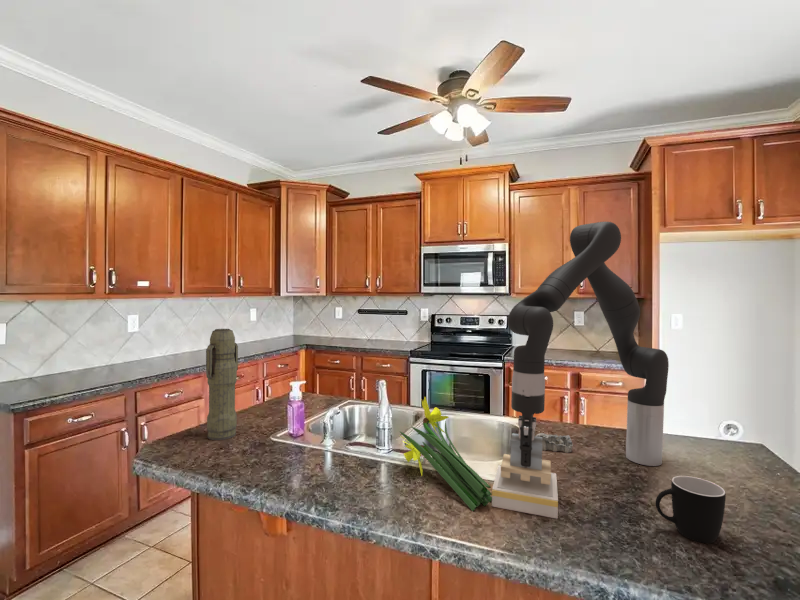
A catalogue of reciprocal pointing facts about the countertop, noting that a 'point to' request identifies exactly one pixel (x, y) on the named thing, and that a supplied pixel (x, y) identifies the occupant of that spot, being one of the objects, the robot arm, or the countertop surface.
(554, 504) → the dock
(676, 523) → the mug
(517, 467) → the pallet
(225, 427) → the thermos
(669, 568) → the countertop surface
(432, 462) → the daffodil flowers
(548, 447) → the egg carton
